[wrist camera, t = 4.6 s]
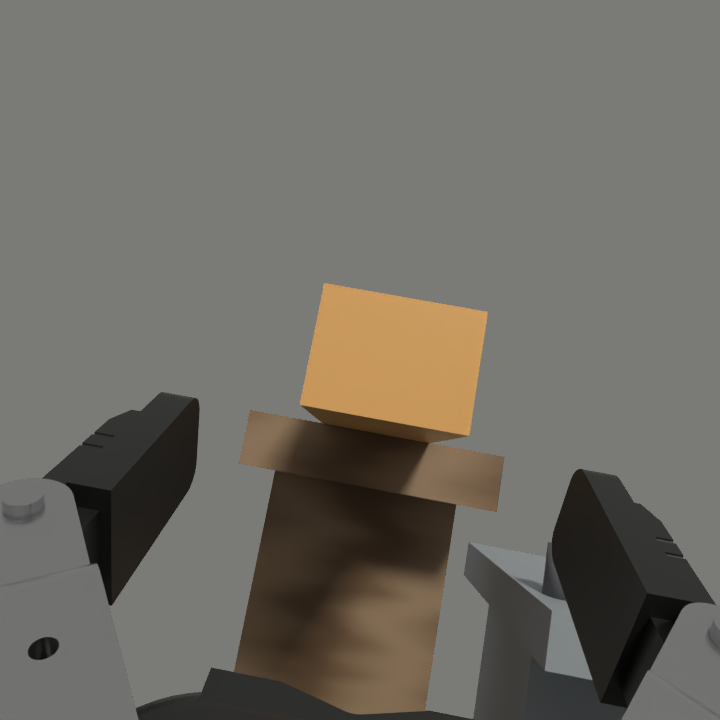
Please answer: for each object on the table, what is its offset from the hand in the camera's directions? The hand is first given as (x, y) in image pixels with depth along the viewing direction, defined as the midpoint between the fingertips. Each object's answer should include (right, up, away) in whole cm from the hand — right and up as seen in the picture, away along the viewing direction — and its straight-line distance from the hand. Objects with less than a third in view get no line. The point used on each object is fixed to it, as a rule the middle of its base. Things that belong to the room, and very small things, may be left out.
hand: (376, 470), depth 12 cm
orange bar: (0, -1, +12) cm, 12 cm away
